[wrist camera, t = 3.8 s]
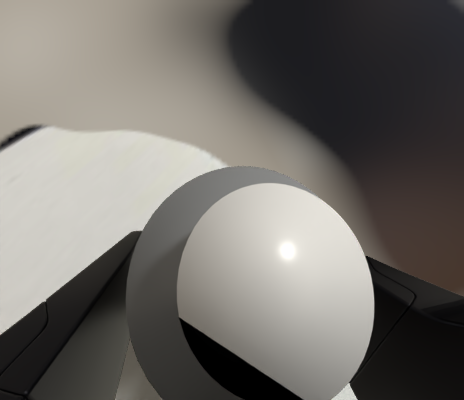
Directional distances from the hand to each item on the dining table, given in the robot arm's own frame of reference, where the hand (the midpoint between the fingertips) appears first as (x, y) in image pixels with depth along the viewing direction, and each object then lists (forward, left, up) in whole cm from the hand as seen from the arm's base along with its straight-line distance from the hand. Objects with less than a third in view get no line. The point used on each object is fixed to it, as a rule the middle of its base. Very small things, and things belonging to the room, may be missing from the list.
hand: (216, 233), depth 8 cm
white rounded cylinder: (-1, +1, -7) cm, 7 cm away
